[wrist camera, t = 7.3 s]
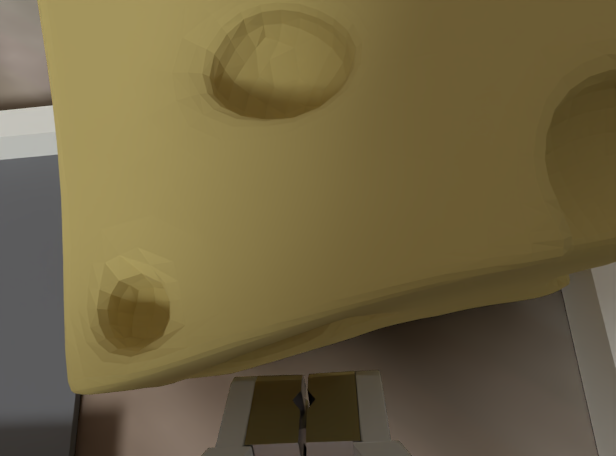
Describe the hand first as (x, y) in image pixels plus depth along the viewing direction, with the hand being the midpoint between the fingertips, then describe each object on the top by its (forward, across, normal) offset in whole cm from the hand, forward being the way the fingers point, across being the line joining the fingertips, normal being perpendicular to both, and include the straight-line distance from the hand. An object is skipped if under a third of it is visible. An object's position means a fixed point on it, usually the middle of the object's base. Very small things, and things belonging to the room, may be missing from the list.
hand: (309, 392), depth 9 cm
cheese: (+8, -1, 0) cm, 8 cm away
